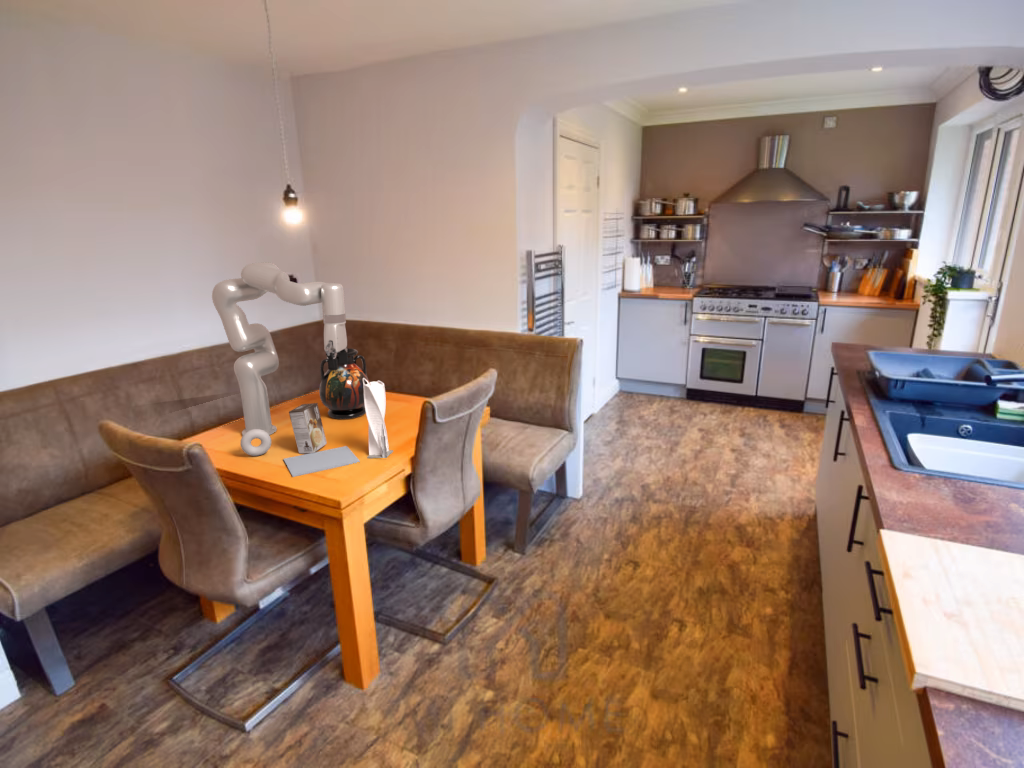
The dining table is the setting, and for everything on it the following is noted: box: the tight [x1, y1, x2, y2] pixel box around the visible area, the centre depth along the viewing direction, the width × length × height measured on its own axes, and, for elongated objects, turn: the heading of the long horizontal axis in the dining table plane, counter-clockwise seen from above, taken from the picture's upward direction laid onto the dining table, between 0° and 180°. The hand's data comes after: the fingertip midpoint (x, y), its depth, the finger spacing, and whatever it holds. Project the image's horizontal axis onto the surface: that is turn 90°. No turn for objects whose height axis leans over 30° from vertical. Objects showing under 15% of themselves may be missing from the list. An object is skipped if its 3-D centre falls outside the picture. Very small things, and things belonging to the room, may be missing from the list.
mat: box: [283, 445, 360, 478], centre depth 192 cm, size 16×22×1 cm
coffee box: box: [288, 402, 328, 455], centre depth 201 cm, size 9×6×16 cm
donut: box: [240, 429, 272, 457], centre depth 197 cm, size 10×4×10 cm, turn 115°
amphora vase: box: [318, 347, 371, 420], centre depth 238 cm, size 22×22×28 cm
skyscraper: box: [362, 378, 394, 459], centre depth 195 cm, size 8×8×28 cm
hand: (338, 366), depth 200 cm, fingers open, 9 cm apart
